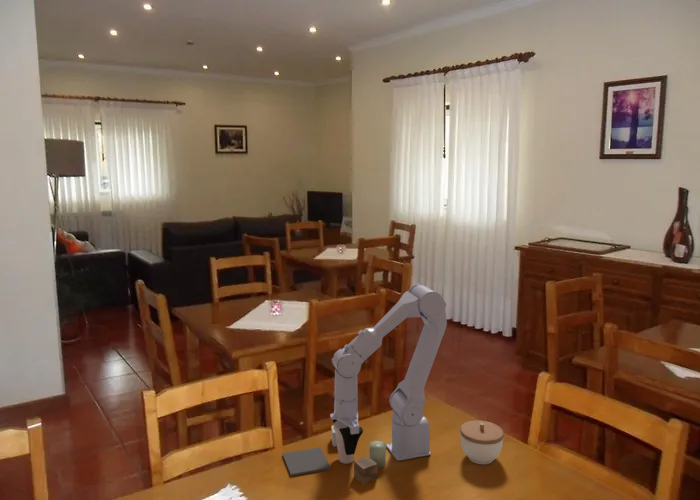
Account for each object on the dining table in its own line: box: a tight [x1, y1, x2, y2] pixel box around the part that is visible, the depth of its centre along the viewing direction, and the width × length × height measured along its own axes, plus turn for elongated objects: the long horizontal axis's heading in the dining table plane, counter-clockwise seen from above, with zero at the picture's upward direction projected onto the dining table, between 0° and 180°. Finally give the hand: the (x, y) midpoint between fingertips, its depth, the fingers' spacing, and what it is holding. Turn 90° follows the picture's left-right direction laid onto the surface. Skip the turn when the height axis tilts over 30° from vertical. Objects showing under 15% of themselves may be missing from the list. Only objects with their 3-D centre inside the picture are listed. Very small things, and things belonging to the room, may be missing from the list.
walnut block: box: [353, 456, 378, 485], centre depth 134 cm, size 4×4×4 cm
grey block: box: [330, 424, 337, 447], centre depth 151 cm, size 4×4×4 cm
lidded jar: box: [459, 419, 505, 465], centre depth 142 cm, size 11×11×9 cm
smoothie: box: [333, 420, 355, 464], centre depth 141 cm, size 6×6×14 cm
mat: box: [282, 446, 332, 477], centre depth 141 cm, size 10×10×1 cm
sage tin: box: [369, 440, 387, 469], centre depth 140 cm, size 4×4×5 cm
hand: (346, 447), depth 142 cm, fingers closed on smoothie, 6 cm apart
